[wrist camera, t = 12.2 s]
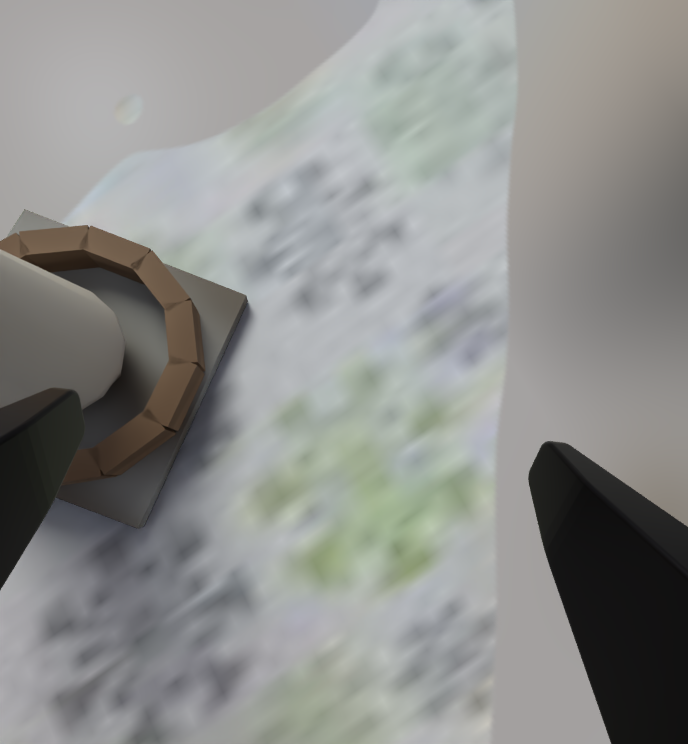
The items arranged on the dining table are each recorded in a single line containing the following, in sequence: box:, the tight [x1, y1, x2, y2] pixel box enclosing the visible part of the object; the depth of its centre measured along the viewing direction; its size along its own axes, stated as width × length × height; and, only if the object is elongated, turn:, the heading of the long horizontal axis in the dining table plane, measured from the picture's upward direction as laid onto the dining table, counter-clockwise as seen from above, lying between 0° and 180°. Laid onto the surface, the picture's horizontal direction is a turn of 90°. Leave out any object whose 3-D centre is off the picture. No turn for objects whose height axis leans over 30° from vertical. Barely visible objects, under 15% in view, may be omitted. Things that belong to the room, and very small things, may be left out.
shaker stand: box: [0, 210, 248, 528], centre depth 21 cm, size 12×12×3 cm
